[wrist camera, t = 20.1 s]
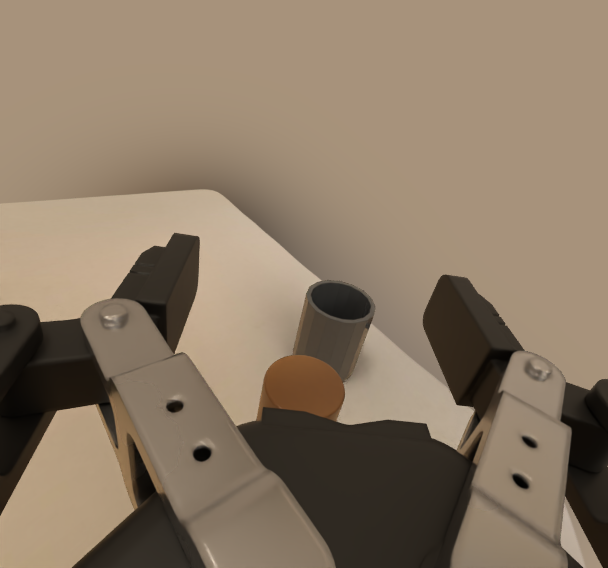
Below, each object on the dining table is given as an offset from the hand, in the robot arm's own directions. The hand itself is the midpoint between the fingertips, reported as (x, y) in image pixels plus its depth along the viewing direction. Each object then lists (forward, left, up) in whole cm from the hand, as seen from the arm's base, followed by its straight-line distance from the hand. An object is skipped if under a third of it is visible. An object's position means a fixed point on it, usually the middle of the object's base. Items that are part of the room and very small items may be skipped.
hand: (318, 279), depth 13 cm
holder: (+16, -17, -25) cm, 34 cm away
